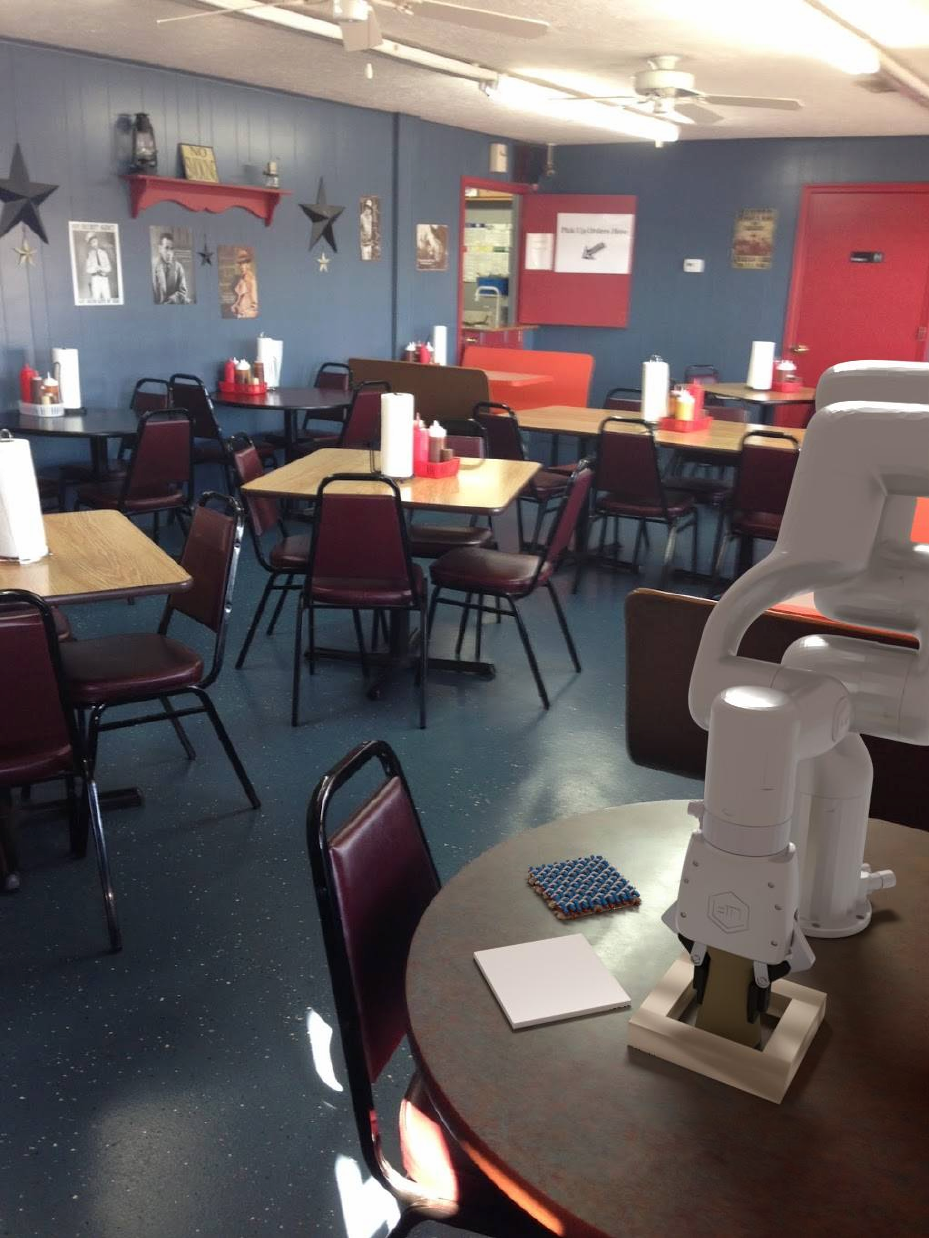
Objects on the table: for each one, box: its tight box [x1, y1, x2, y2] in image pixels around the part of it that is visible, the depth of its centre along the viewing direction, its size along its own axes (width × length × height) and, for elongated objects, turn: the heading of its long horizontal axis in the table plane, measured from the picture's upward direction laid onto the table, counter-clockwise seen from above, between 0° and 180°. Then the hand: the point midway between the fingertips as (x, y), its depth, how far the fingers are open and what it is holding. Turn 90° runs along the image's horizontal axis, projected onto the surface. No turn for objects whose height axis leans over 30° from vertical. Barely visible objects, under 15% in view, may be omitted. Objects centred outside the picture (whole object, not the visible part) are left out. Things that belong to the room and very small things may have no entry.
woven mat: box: [524, 854, 643, 920], centre depth 124 cm, size 10×11×2 cm
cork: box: [693, 946, 762, 1049], centre depth 99 cm, size 6×6×11 cm
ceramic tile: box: [473, 932, 632, 1030], centre depth 108 cm, size 12×12×1 cm
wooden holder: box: [626, 947, 828, 1105], centre depth 100 cm, size 14×14×2 cm
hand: (729, 1004), depth 100 cm, fingers closed on cork, 4 cm apart
